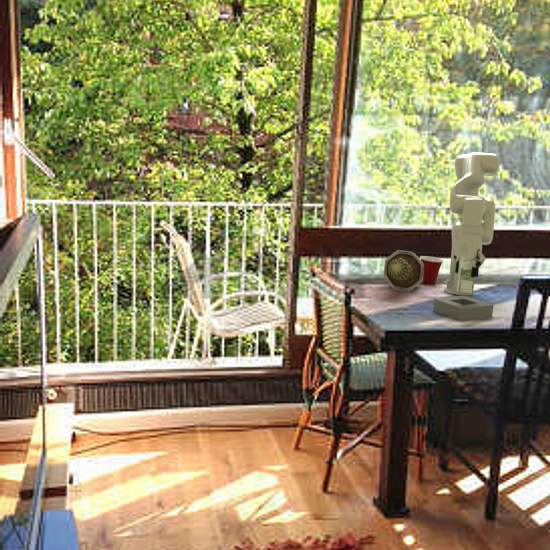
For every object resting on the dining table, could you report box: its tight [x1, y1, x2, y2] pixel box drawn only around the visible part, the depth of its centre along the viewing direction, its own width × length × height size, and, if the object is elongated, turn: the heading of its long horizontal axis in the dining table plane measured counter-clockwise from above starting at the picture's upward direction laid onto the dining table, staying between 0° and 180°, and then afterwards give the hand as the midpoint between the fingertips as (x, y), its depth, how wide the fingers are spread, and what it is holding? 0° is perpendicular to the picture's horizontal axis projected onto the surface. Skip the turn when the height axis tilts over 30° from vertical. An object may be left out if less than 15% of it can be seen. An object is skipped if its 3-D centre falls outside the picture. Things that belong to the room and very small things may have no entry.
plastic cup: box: [419, 255, 444, 286], centre depth 353 cm, size 11×11×12 cm
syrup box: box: [456, 256, 477, 295], centre depth 297 cm, size 6×6×14 cm
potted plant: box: [383, 249, 424, 292], centre depth 334 cm, size 18×18×30 cm
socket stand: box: [432, 295, 494, 322], centre depth 300 cm, size 16×16×5 cm
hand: (466, 274), depth 297 cm, fingers closed on syrup box, 8 cm apart
